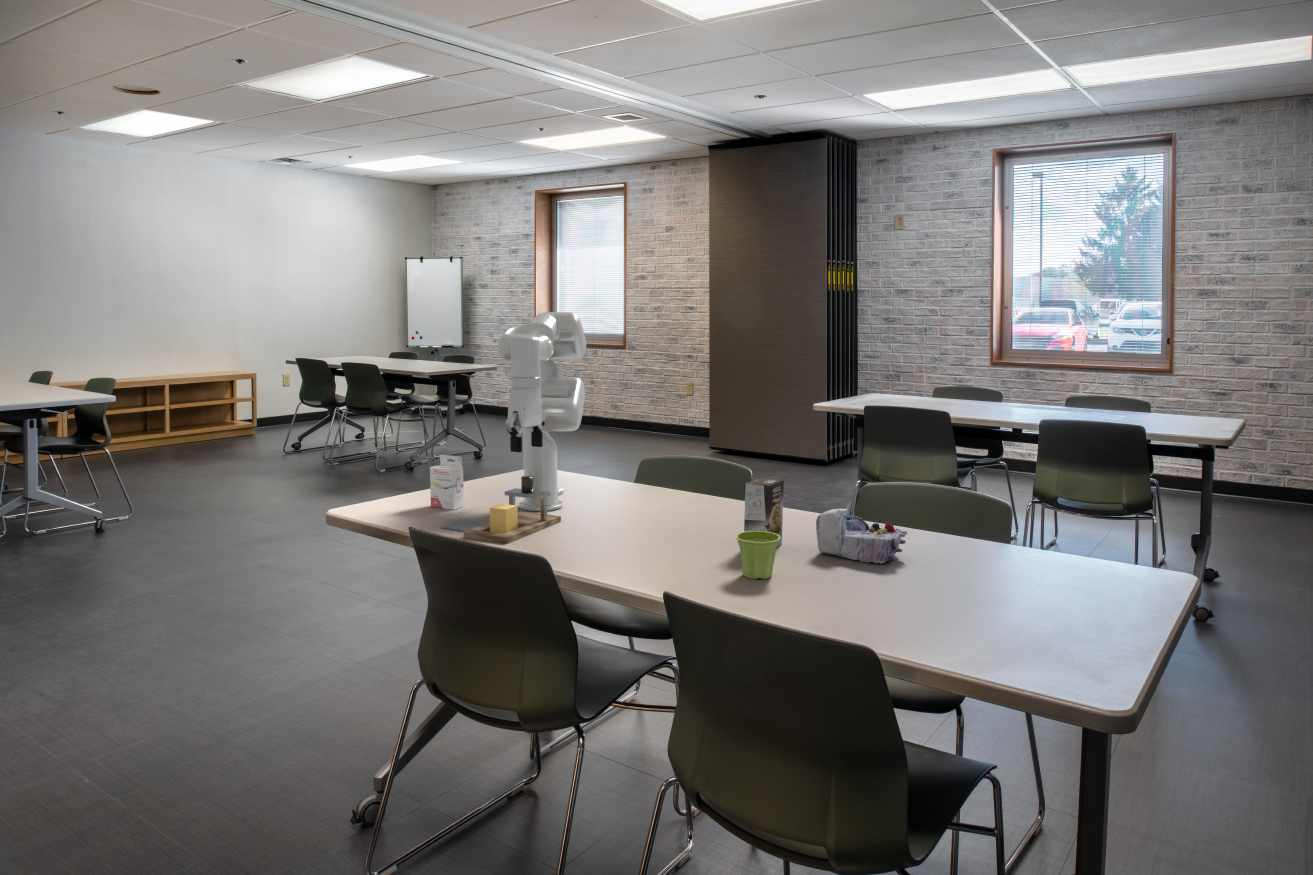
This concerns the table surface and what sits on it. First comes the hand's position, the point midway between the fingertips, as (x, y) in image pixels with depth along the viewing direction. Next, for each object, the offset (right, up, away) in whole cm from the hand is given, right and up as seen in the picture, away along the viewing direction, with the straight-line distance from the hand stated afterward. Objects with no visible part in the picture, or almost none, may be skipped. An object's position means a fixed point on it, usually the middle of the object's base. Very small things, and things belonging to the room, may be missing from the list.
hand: (526, 449), depth 224 cm
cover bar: (0, -18, +3) cm, 19 cm away
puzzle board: (-3, -21, -3) cm, 21 cm away
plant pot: (+56, -27, -41) cm, 74 cm away
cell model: (+81, -25, -25) cm, 88 cm away
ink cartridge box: (-26, -17, +22) cm, 39 cm away
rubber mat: (-15, -20, 0) cm, 25 cm away
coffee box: (+60, -24, -18) cm, 67 cm away
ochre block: (-5, -21, -7) cm, 23 cm away
